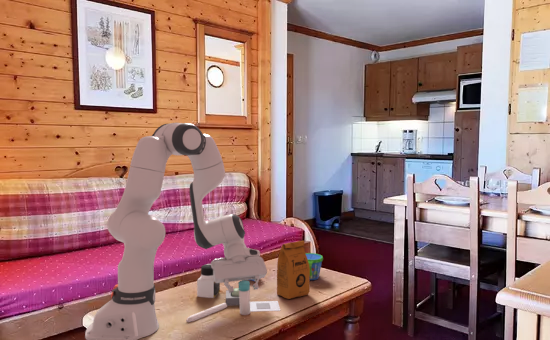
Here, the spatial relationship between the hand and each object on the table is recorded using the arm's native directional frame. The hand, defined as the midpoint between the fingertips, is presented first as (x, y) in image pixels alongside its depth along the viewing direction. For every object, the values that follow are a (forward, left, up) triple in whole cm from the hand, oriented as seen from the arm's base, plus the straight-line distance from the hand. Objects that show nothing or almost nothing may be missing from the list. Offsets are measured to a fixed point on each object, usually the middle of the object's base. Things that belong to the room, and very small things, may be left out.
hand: (244, 290), depth 153 cm
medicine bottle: (-14, +17, -8) cm, 23 cm away
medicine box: (+4, +35, -8) cm, 36 cm away
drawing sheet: (+7, +4, -8) cm, 11 cm away
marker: (-13, -2, -8) cm, 16 cm away
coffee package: (+20, +14, -8) cm, 26 cm away
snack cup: (+31, +34, -8) cm, 47 cm away
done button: (-3, +9, -6) cm, 11 cm away
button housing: (-3, +9, -8) cm, 12 cm away
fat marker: (0, -2, -8) cm, 8 cm away
